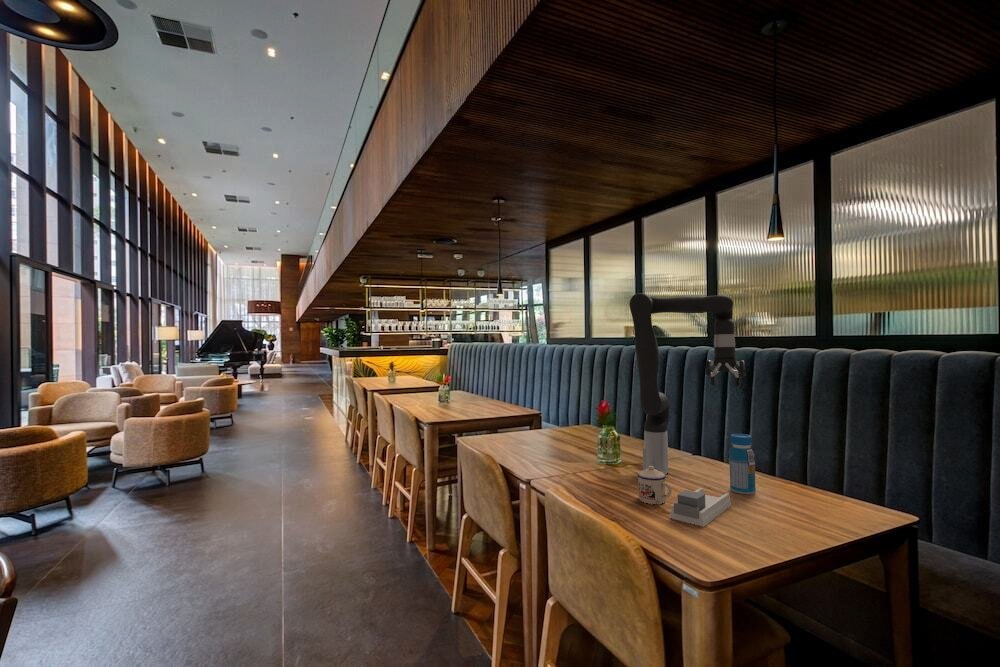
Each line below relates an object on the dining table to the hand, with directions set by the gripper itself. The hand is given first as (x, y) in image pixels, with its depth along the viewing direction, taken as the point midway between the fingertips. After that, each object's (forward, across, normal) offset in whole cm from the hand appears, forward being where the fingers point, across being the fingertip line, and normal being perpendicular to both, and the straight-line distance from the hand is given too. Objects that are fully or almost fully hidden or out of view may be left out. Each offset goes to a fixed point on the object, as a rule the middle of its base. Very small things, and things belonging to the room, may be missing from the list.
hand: (725, 386), depth 180 cm
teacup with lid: (+36, -9, -44) cm, 58 cm away
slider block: (+34, +6, -51) cm, 61 cm away
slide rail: (+36, +6, -44) cm, 57 cm away
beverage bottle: (+36, +9, -13) cm, 40 cm away
